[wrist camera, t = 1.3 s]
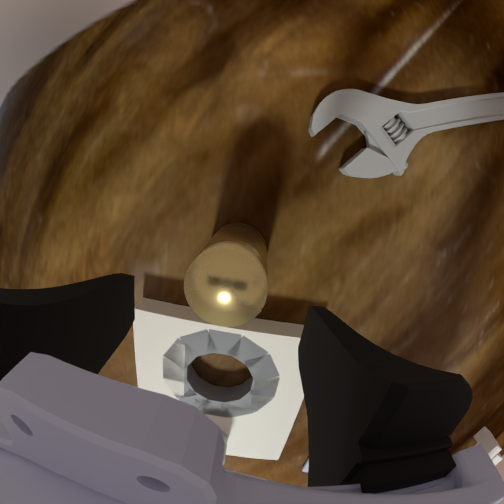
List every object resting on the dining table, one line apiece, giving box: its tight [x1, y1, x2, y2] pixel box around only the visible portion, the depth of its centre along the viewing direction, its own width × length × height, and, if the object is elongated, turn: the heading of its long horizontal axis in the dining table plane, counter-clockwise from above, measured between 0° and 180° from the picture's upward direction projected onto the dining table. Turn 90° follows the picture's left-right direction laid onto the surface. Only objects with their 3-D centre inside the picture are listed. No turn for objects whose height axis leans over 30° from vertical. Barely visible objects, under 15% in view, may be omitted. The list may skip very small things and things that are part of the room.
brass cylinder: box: [184, 222, 268, 327], centre depth 17 cm, size 4×4×7 cm
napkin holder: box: [474, 426, 502, 465], centre depth 25 cm, size 15×11×6 cm
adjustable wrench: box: [308, 89, 504, 178], centre depth 16 cm, size 25×6×2 cm, turn 105°
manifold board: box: [133, 297, 304, 465], centre depth 21 cm, size 14×16×5 cm
